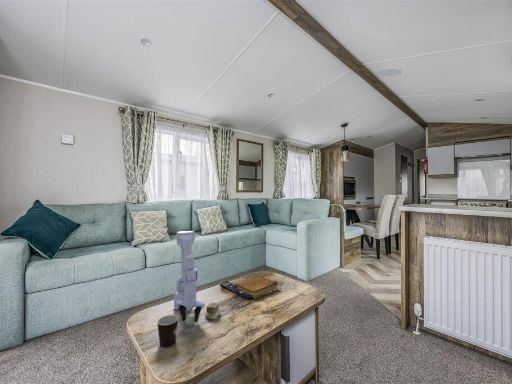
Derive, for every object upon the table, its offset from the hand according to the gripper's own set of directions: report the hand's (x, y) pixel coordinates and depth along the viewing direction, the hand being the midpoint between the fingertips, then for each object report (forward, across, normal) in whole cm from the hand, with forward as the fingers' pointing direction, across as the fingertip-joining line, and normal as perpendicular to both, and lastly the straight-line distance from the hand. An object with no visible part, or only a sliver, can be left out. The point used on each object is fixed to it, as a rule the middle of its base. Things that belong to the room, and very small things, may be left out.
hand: (190, 321), depth 119 cm
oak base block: (+2, +8, +10) cm, 13 cm away
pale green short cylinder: (+2, 0, 0) cm, 2 cm away
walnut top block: (-1, +8, +10) cm, 13 cm away
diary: (+2, +25, +48) cm, 54 cm away
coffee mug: (+2, -2, -15) cm, 15 cm away
